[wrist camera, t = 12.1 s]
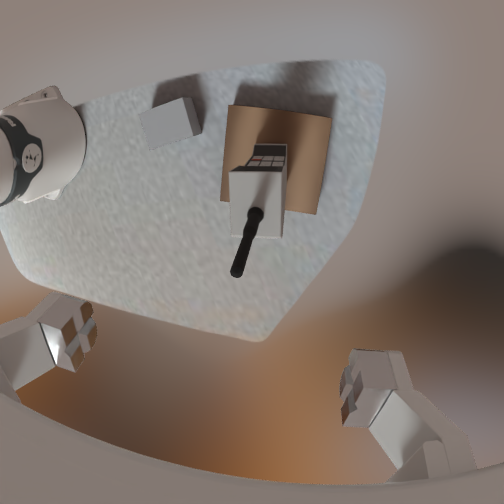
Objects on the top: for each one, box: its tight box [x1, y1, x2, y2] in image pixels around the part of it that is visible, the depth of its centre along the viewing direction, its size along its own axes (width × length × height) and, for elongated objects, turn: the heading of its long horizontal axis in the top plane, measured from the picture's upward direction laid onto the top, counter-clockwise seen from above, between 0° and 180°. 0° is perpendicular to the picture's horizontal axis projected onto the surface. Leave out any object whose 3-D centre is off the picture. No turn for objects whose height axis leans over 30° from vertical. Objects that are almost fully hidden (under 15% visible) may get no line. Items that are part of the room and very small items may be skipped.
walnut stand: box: [220, 105, 332, 215], centre depth 38 cm, size 12×12×3 cm
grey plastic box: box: [139, 97, 202, 150], centre depth 37 cm, size 6×5×4 cm
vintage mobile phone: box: [229, 144, 287, 278], centre depth 26 cm, size 4×5×25 cm
